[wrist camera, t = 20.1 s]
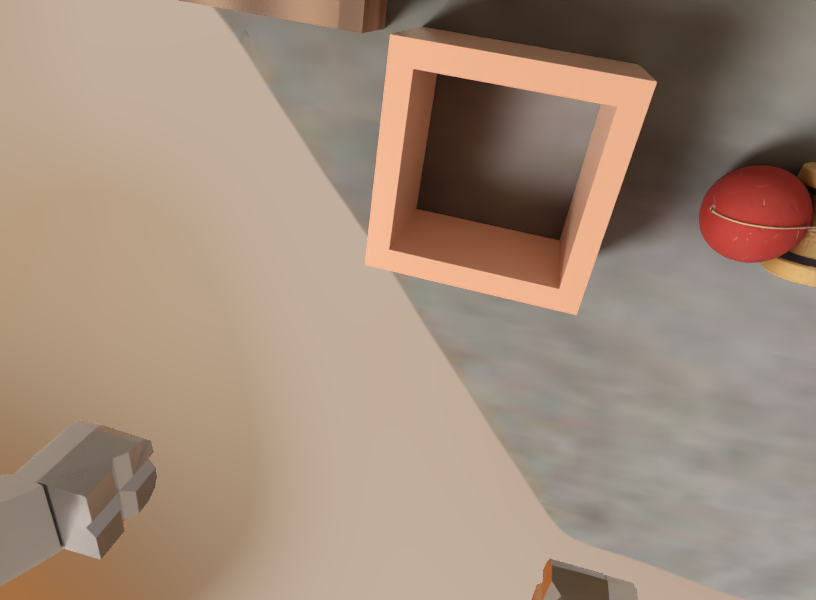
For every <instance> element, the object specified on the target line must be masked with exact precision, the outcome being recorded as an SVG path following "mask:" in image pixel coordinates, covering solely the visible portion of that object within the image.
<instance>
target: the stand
mask: <svg viewBox="0 0 816 600" xmlns="http://www.w3.org/2000/svg"><path fill="white" fill-rule="evenodd" d="M437 73H438V74H443V75H449V76H454V77H459V78H465V79H470V80H476V81H481V82H486V83H492V84H497V85H503V86H508V87H513V88H519V89H524V90H530V91H535V92H540V93H546V94H551V95H556V96H562V97H567V98H573V99H578V100H583V101H589V102H594V103H600V104H601V105H600V108H599V112H598V115H597V118H596V121H595V125H594V128H593V131H592V135H591V138H590V141H589V145H588V148H587V151H586V155H585V158H584V161H583V164H582V168H581V171H580V174H579V178H578V181H577V184H576V188H575V191H574V194H573V197H572V201H571V204H570V207H569V211H568V214H567V217H566V221H565V224H564V227H563V230H562V234H561V237H560V240H556V239H551V238H547V237H542V236H538V235H533V234H529V233H524V232H519V231H515V230H510V229H506V228H501V227H497V226H492V225H488V224H483V223H479V222H474V221H470V220H465V219H461V218H456V217H451V216H447V215H442V214H438V213H433V212H429V211H424V210H420V209H416V208H417V202H418V195H419V189H420V182H421V176H422V170H423V163H424V157H425V150H426V144H427V137H428V131H429V124H430V118H431V111H432V105H433V98H434V92H435V85H436V79H437ZM656 84H657V81H656V80H655V79H654V78H653V77H652V76H650V75H649V74H648V73H647V72H646V71H645V70H644V69H643V68H642V67H641V66H640V65H639V64H633V63H628V62H622V61H616V60H610V59H605V58H599V57H593V56H588V55H582V54H576V53H570V52H565V51H559V50H553V49H547V48H542V47H536V46H530V45H525V44H519V43H513V42H507V41H502V40H496V39H490V38H484V37H479V36H473V35H467V34H462V33H456V32H450V31H444V30H439V29H433V28H427V27H418V28H414V29H410V30H406V31H401V32H397V33H393V34H390V41H389V50H388V59H387V68H386V77H385V86H384V95H383V104H382V113H381V122H380V131H379V140H378V149H377V158H376V167H375V176H374V186H373V195H372V204H371V213H370V222H369V231H368V240H367V250H366V259H365V265H368V266H372V267H376V268H380V269H385V270H389V271H393V272H397V273H401V274H405V275H410V276H414V277H418V278H422V279H426V280H431V281H435V282H439V283H443V284H447V285H452V286H456V287H460V288H464V289H469V290H473V291H477V292H481V293H485V294H490V295H494V296H498V297H502V298H506V299H511V300H515V301H519V302H523V303H527V304H532V305H536V306H540V307H544V308H549V309H553V310H557V311H561V312H565V313H570V314H574V315H577V312H578V309H579V307H580V304H581V301H582V298H583V295H584V292H585V289H586V286H587V283H588V281H589V278H590V275H591V272H592V269H593V266H594V263H595V260H596V257H597V254H598V252H599V249H600V246H601V243H602V240H603V237H604V234H605V231H606V228H607V226H608V223H609V220H610V217H611V214H612V211H613V208H614V205H615V202H616V200H617V197H618V194H619V191H620V188H621V185H622V182H623V179H624V176H625V173H626V171H627V168H628V165H629V162H630V159H631V156H632V153H633V150H634V147H635V145H636V142H637V139H638V136H639V133H640V130H641V127H642V124H643V121H644V119H645V116H646V113H647V110H648V107H649V104H650V101H651V98H652V95H653V92H654V90H655V87H656Z"/></svg>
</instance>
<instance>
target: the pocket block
mask: <svg viewBox="0 0 816 600" xmlns="http://www.w3.org/2000/svg"><path fill="white" fill-rule="evenodd" d="M180 1H186V2H191V3H197V4H203V5H208V6H213V7H219V8H225V9H230V10H236V11H241V12H247V13H253V14H258V15H264V16H269V17H275V18H281V19H286V20H292V21H297V22H303V23H309V24H314V25H320V26H325V27H331V28H336V29H342V30H348V31H353V32H359V33H365V32H370V31H375V30H380V29H385V20H386V11H387V1H388V0H180Z"/></svg>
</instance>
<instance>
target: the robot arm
mask: <svg viewBox="0 0 816 600" xmlns="http://www.w3.org/2000/svg"><path fill="white" fill-rule="evenodd" d="M152 453H153V447H152V443H151V441H150V440H147V439H144V438H141V437H138V436H135V435H132V434H129V433H125V432H122V431H119V430H116V429H113V428H110V427H107V426H104V425H101V424H98V423H94V422H91V421H88V420H84V419H81V420H78V421H76V422H73V423H72V424H71V425H70V426H68V427H67V428H66V429H65V430H64V431H63V432H61V433H60V434H59V435H58V436H57V437H56V438H55V439H53V440H52V441H51V442H50V443H49V444H48V445H46V446H45V447H44V448H43V449H42V450H41V451H40V452H38V453H37V454H36V455H35V456H34V457H33V458H32V459H30V460H29V461H28V462H27V463H26V464H25V465H24V466H22V467H21V468H20V469H19V470H18V471H17V472H16V473H14V474H13V475H9V474H3V475H0V586H2V585H3V584H5V583H7V582H9V581H10V580H12V579H14V578H16V577H17V576H19V575H20V574H22V573H24V572H26V571H28V570H29V569H31V568H33V567H34V566H36V565H38V564H40V563H41V562H43V561H45V560H46V559H48V558H50V557H52V556H53V555H55V554H57V553H59V552H60V551H61V550H62V549H61V548H64V549H67V550H71V551H74V552H77V553H81V554H84V555H87V556H90V557H94V558H97V559H102V558H103V557H104V555H105V554H106V553H107V552H108V551H109V550H110V548H111V547H112V546H113V545H114V543H115V542H116V541H117V540H118V539H119V537H120V536H121V535H122V534H123V532H124V528H125V527H124V525H125V520H126V519H128V518H130V517H132V516H134V515H136V514H138V513H140V511H141V510H142V509H143V508H144V506H145V505H146V504H147V503H148V501H149V499H150V497H151V495H152V493H153V490H154V488H155V485H156V479H157V474H156V468H155V466H154V465H153V464H152V463H151V461H150V460H149V459H148V458H149V457H150V456H151V455H152ZM532 600H638V597H637V590H636V588H635V586H634V584H633V583H631V582H627V581H624V580H620V579H617V578H613V577H610V576H606V575H603V574H602V573H599V572H595V571H592V570H588V569H584V568H581V567H577V566H574V565H571V564H567V563H564V562H560V561H556V560H553V559H549V560H548V561H547V563H546V565H545V567H544V570H543V582H542V583H540V584H538V585H537V586H536V589H535V591H534V594H533V597H532Z"/></svg>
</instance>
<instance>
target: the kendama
mask: <svg viewBox="0 0 816 600" xmlns="http://www.w3.org/2000/svg"><path fill="white" fill-rule="evenodd" d="M699 224H700V229H701V233H702V235H703V237H704V239H705V240H706V242H707V243H708V244H709V246H711V247H712V248H713V249H714V250H715V251H716V252H718V253H719V254H721V255H722V256H724V257H726V258H729V259H732V260H735V261H740V262H747V263H756V262H761V265H762V266H763V267H764V268H765V269H766V270H767V271H768V272H770V273H772V274H774V275H776V276H778V277H780V278H782V279H785V280H788V281H791V282H795V283H798V284H802V285H807V286H813V287H816V162H808V163H805V164H804V165H803V166H802V168H801V170H800V172H799V174H798V176H797V177H796V176H794V175H793V174H791V173H789V172H788V171H786V170H784V169H781V168H777V167H773V166H767V165H756V166H749V167H744V168H740V169H737V170H734V171H732V172H730V173H728V174H726V175H725V176H723V177H722V178H720V179H719V180H718V181H717V182H715V183H714V184H713V186H712V187H711V188H710V189H709V190H708V192H707V194H706V195H705V197H704V199H703V202H702V205H701V208H700V214H699Z"/></svg>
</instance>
